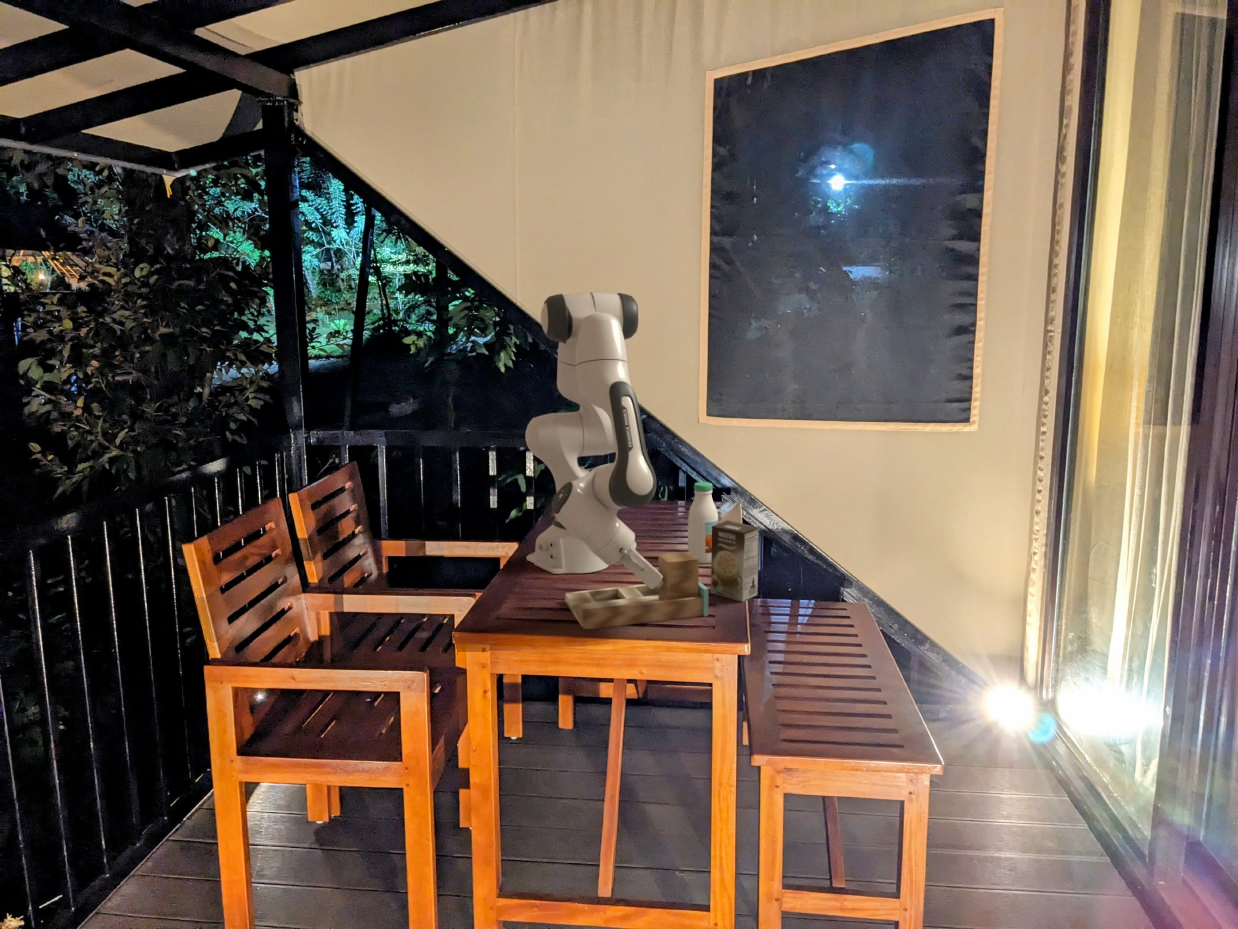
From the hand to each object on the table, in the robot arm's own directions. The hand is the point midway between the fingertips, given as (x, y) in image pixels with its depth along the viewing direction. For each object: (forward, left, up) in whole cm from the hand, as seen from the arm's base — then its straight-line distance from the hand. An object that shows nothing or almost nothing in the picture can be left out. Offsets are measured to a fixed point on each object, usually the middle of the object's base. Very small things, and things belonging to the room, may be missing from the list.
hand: (659, 583), depth 193 cm
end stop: (+1, +9, -6) cm, 11 cm away
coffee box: (+5, +20, -7) cm, 21 cm away
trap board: (-6, -2, -6) cm, 9 cm away
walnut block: (+2, +3, -4) cm, 6 cm away
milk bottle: (-17, +36, -7) cm, 40 cm away
